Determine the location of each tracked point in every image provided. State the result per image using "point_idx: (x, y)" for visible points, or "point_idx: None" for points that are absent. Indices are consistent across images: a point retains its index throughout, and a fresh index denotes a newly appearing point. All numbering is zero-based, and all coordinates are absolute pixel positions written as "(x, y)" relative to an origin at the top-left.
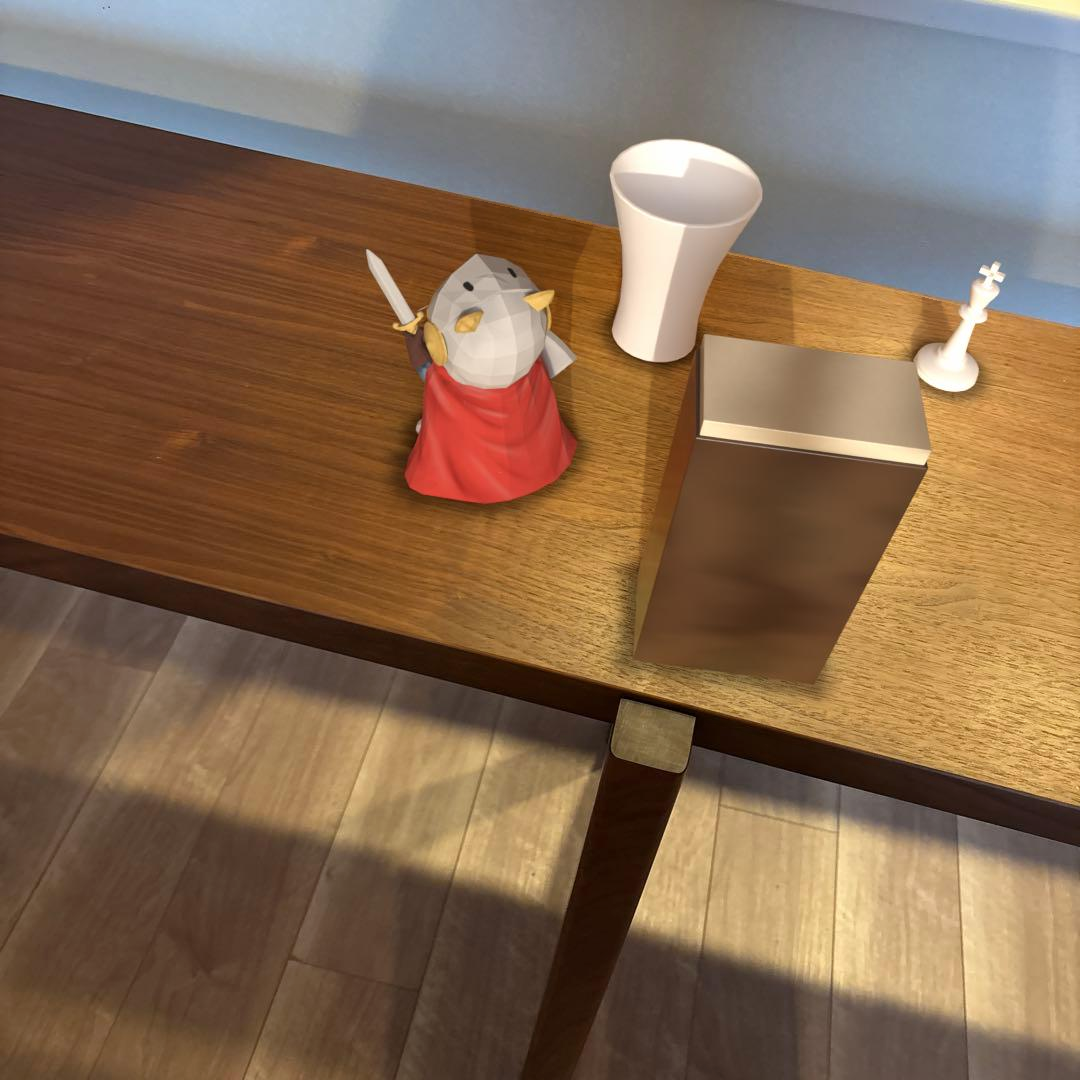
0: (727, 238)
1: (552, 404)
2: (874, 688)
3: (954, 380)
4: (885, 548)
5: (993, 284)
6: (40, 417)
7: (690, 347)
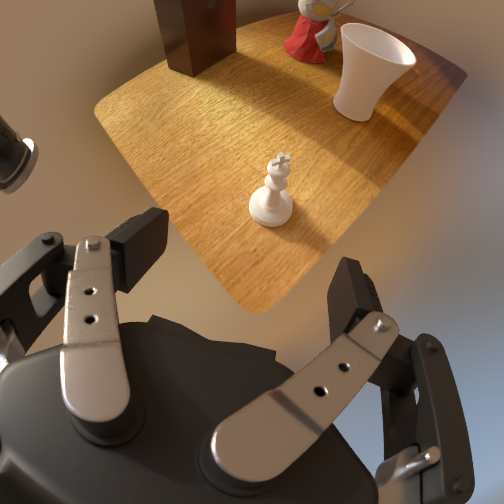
0: (343, 43)
1: (304, 37)
2: (154, 79)
3: (255, 193)
4: (155, 9)
5: (276, 169)
6: (352, 18)
7: (337, 107)
